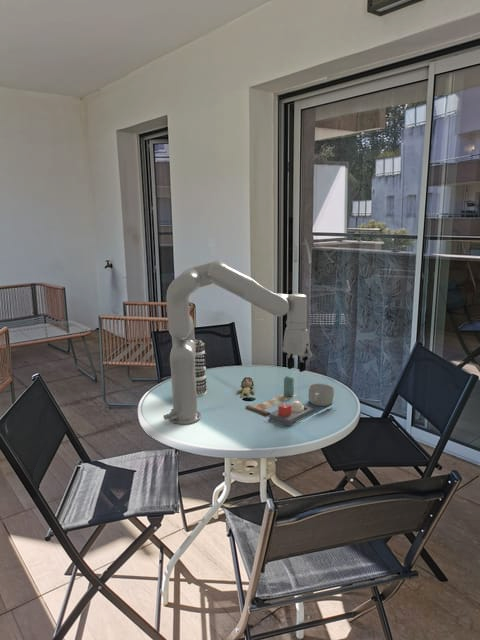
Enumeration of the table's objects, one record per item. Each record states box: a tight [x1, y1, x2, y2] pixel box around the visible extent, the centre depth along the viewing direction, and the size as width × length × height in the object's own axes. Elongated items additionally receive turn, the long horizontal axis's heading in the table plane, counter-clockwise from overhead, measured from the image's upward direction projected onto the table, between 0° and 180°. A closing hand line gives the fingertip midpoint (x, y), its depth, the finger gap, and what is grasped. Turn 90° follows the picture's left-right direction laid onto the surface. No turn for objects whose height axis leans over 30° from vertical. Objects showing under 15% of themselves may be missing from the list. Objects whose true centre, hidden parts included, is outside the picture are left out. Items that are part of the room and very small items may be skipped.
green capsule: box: [283, 375, 295, 398], centre depth 212 cm, size 4×4×9 cm
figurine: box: [236, 376, 256, 399], centre depth 219 cm, size 8×6×15 cm
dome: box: [289, 400, 304, 413], centre depth 195 cm, size 6×6×5 cm
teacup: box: [308, 383, 335, 407], centre depth 203 cm, size 14×11×8 cm
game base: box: [268, 403, 315, 427], centre depth 193 cm, size 16×10×6 cm, turn 136°
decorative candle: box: [195, 339, 208, 397], centre depth 219 cm, size 9×9×25 cm
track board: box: [245, 393, 298, 416], centre depth 207 cm, size 25×12×1 cm, turn 136°
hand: (296, 369), depth 191 cm, fingers open, 4 cm apart
